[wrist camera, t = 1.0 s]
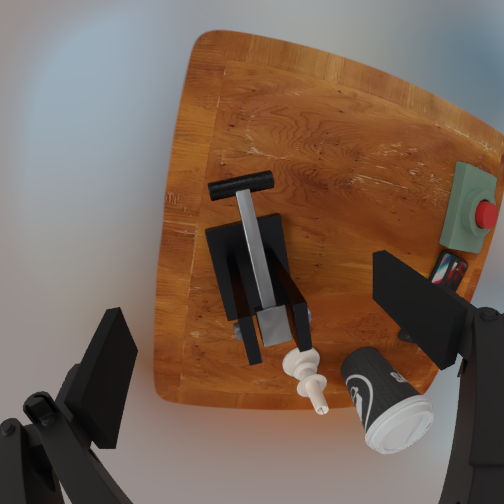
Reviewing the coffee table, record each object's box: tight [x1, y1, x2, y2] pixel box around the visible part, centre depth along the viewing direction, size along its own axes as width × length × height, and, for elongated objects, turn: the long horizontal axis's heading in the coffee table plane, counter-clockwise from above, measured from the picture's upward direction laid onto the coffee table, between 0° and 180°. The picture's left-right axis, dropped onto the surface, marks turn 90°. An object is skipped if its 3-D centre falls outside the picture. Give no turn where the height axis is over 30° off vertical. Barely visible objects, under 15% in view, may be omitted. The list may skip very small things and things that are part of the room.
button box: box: [439, 161, 497, 254], centre depth 35 cm, size 12×8×4 cm, turn 171°
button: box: [475, 201, 497, 229], centre depth 33 cm, size 4×4×2 cm
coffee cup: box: [341, 347, 434, 454], centre depth 36 cm, size 10×10×15 cm
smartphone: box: [398, 250, 468, 343], centre depth 41 cm, size 7×1×15 cm
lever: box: [208, 170, 292, 347], centre depth 24 cm, size 13×5×2 cm, turn 11°
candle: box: [283, 347, 329, 415], centre depth 36 cm, size 5×5×10 cm
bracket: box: [205, 213, 312, 365], centre depth 29 cm, size 11×8×14 cm
